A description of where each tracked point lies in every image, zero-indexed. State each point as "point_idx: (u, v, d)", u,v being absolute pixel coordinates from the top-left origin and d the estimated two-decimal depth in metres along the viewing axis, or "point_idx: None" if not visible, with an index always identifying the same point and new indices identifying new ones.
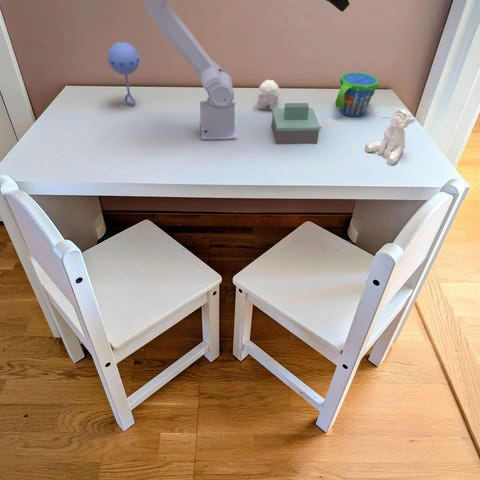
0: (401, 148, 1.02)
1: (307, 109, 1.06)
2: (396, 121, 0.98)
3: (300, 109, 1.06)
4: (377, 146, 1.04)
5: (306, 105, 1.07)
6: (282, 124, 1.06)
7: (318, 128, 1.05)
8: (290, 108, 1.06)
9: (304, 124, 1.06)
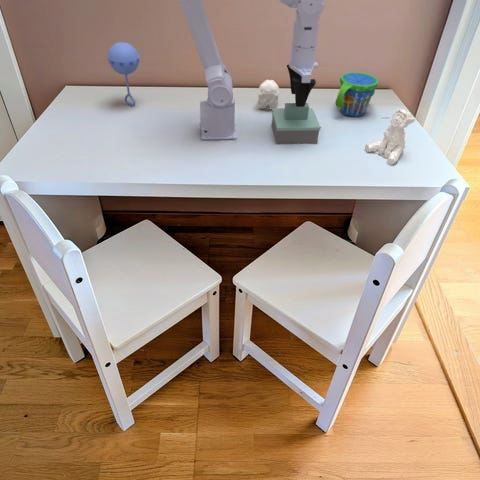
0: (401, 148, 1.02)
1: (307, 109, 1.06)
2: (396, 121, 0.98)
3: (300, 109, 1.06)
4: (377, 146, 1.04)
5: (306, 105, 1.07)
6: (282, 124, 1.06)
7: (318, 128, 1.05)
8: (290, 108, 1.06)
9: (304, 124, 1.06)
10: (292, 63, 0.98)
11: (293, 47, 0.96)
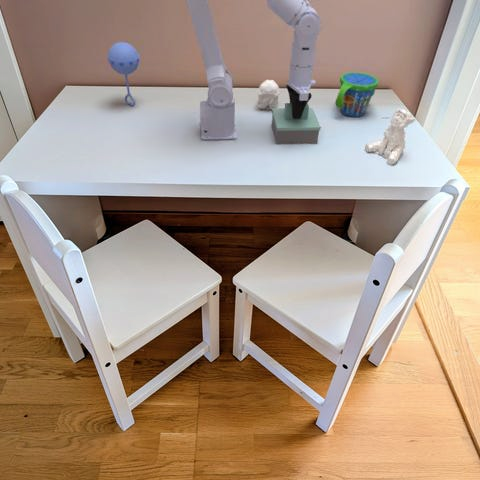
0: (401, 148, 1.02)
1: (307, 109, 1.06)
2: (396, 121, 0.98)
3: None
4: (377, 146, 1.04)
5: (306, 105, 1.07)
6: (282, 124, 1.06)
7: (318, 128, 1.05)
8: (290, 108, 1.06)
9: (304, 124, 1.06)
10: (290, 81, 1.01)
11: (291, 66, 0.99)
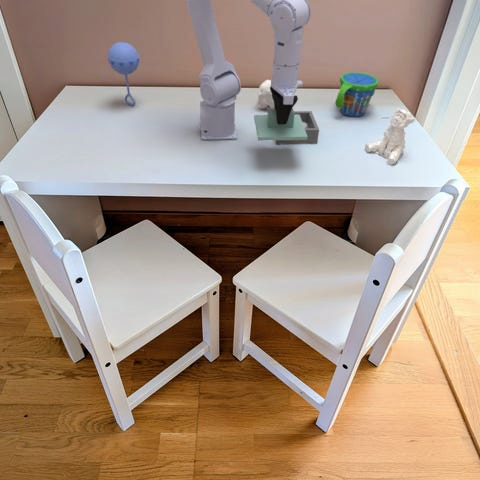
0: (401, 148, 1.02)
1: (292, 116, 0.95)
2: (396, 121, 0.98)
3: None
4: (377, 146, 1.04)
5: (291, 111, 0.95)
6: (264, 133, 0.94)
7: (305, 137, 0.94)
8: (274, 115, 0.94)
9: (289, 133, 0.94)
10: (273, 82, 0.89)
11: (274, 65, 0.87)
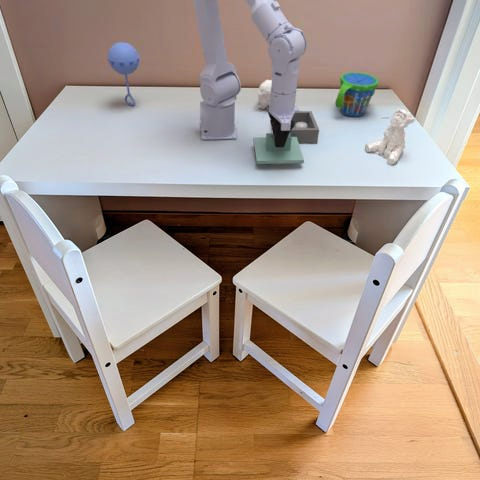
0: (401, 148, 1.02)
1: (290, 140, 0.99)
2: (396, 121, 0.98)
3: None
4: (377, 146, 1.04)
5: (289, 136, 0.99)
6: (263, 156, 0.98)
7: (301, 161, 0.98)
8: (272, 139, 0.98)
9: (286, 156, 0.99)
10: (271, 108, 0.93)
11: (272, 93, 0.91)
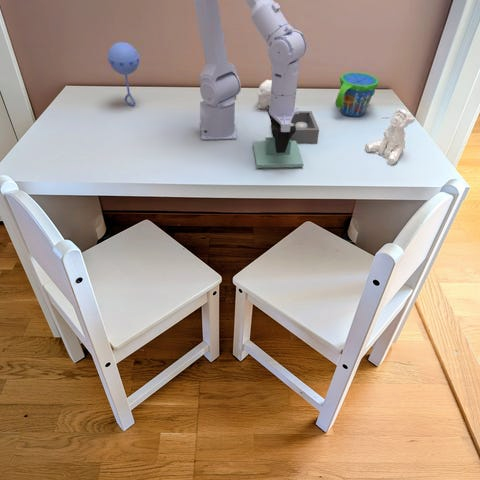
0: (401, 148, 1.02)
1: (289, 144, 0.99)
2: (396, 121, 0.98)
3: None
4: (377, 146, 1.04)
5: None
6: (262, 160, 0.99)
7: (301, 165, 0.99)
8: (271, 143, 0.99)
9: (286, 160, 0.99)
10: (271, 110, 0.93)
11: (272, 94, 0.91)
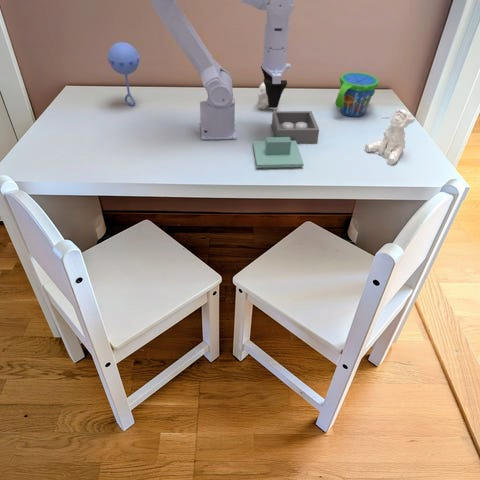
0: (401, 148, 1.02)
1: (289, 144, 0.99)
2: (396, 121, 0.98)
3: (282, 144, 0.99)
4: (377, 146, 1.04)
5: (288, 140, 1.00)
6: (262, 160, 0.99)
7: (301, 165, 0.99)
8: (271, 143, 0.99)
9: (286, 160, 0.99)
10: (264, 64, 0.98)
11: (264, 48, 0.96)
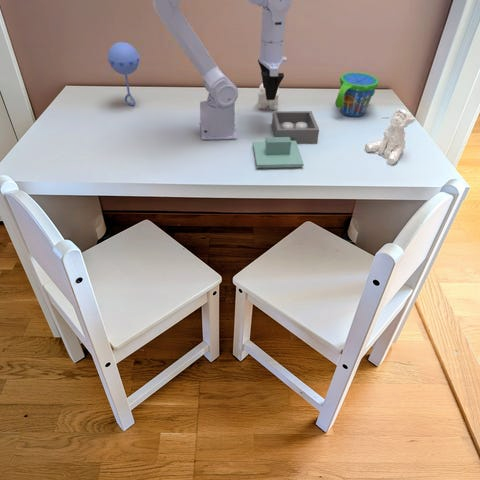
0: (401, 148, 1.02)
1: (289, 144, 0.99)
2: (396, 121, 0.98)
3: (282, 144, 0.99)
4: (377, 146, 1.04)
5: (288, 140, 1.00)
6: (262, 160, 0.99)
7: (301, 165, 0.99)
8: (271, 143, 0.99)
9: (286, 160, 0.99)
10: (261, 57, 1.02)
11: (261, 42, 0.99)
